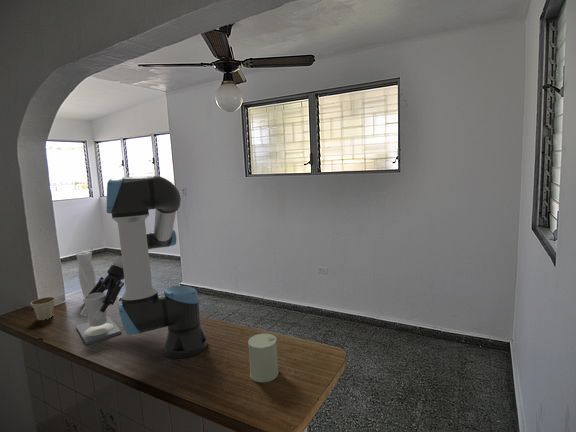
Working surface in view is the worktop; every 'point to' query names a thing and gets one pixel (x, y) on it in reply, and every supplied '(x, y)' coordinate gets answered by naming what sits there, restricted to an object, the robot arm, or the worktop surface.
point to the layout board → (97, 331)
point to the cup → (95, 308)
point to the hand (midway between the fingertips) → (89, 317)
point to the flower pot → (43, 307)
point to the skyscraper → (86, 272)
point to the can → (263, 357)
